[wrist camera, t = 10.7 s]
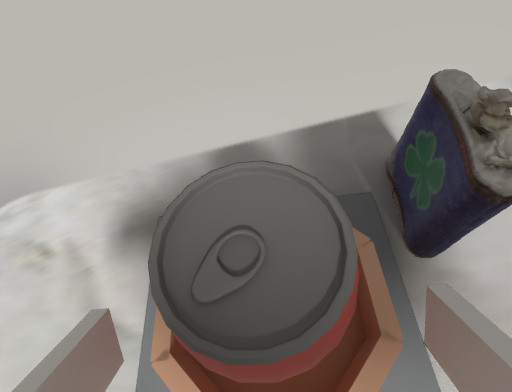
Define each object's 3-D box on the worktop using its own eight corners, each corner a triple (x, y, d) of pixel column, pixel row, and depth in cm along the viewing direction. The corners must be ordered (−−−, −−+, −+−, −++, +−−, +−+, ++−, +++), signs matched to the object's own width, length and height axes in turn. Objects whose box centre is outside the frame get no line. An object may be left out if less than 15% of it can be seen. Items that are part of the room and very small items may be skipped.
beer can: (202, 307, 18) (84, 248, 7) (269, 239, 20) (250, 116, 9) (275, 394, 15) (246, 494, 5) (344, 304, 17) (434, 234, 7)
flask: (381, 158, 24) (442, 37, 14) (416, 157, 23) (501, 32, 14) (406, 260, 19) (517, 177, 10) (449, 260, 19) (607, 175, 10)
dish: (345, 211, 21) (355, 186, 18) (403, 423, 14) (437, 445, 11) (185, 229, 22) (167, 208, 18) (171, 439, 15) (138, 464, 12)
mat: (370, 194, 22) (371, 192, 22) (459, 455, 14) (463, 458, 13) (160, 218, 23) (158, 216, 23) (128, 475, 15) (124, 478, 14)
